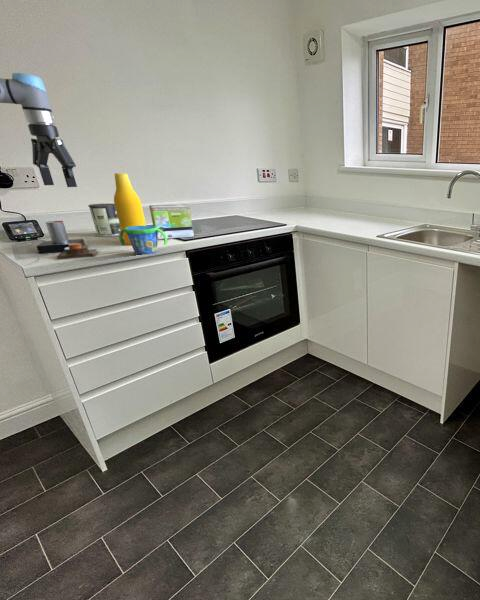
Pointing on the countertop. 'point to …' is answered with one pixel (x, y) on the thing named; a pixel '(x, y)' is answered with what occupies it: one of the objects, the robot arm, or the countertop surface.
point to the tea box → (172, 220)
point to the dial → (57, 231)
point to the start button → (75, 246)
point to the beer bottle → (127, 205)
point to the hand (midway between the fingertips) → (60, 186)
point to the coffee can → (105, 219)
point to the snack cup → (143, 238)
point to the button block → (77, 253)
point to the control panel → (56, 246)
